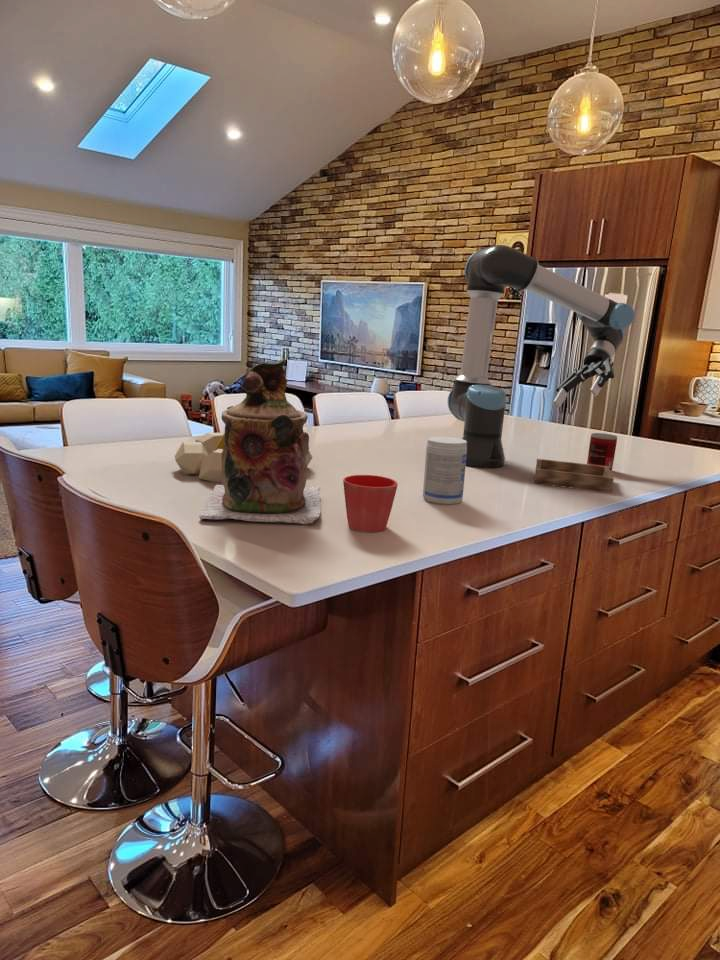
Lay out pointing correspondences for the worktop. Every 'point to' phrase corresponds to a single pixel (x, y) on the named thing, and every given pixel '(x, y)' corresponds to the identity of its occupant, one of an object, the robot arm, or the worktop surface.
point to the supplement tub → (444, 470)
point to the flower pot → (368, 501)
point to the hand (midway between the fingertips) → (574, 399)
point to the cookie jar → (264, 456)
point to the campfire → (206, 456)
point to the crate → (574, 475)
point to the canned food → (602, 449)
